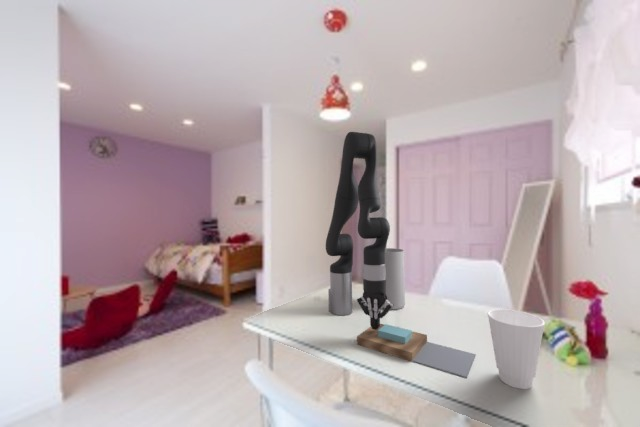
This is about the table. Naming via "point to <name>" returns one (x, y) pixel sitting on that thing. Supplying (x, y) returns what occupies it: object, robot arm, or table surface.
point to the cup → (516, 345)
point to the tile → (395, 333)
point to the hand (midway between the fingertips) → (375, 328)
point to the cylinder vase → (395, 277)
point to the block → (392, 344)
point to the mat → (445, 359)
